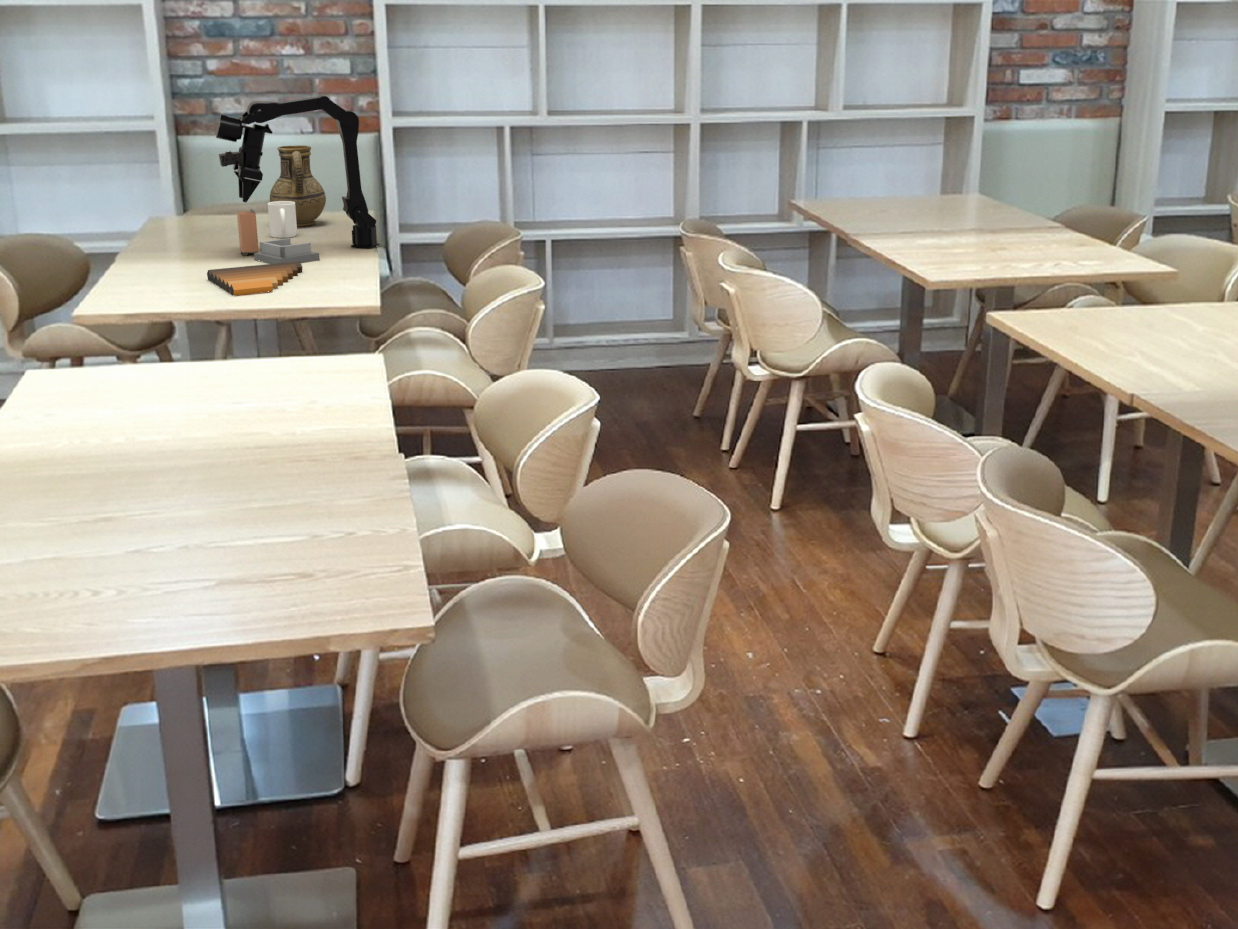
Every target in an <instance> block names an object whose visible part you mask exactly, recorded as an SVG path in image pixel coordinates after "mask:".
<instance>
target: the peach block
mask: <svg viewBox="0 0 1238 929" xmlns="http://www.w3.org/2000/svg"><path fill="white" fill-rule="evenodd" d="M236 215H237V216H236V217H237V229H238V230H237V231H238V239H239V240H238V241H239V250H240V254H241V253H243V254H242V256H243V257H247V256H246V255H248V256H249V253H252V252H253V253H252V254H253V255H254V253H258V252H260V251H259V249H260V247H259V240H258V236H259V235H258V225H257V213H256V212H255V209H253V208H250V210H243V211H236Z"/></svg>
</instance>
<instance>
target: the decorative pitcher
mask: <svg viewBox="0 0 1238 929" xmlns="http://www.w3.org/2000/svg"><path fill="white" fill-rule="evenodd" d="M276 149H277V151H278V157H280V158H279V160H280V175H279V176H278V178H277V179H276V180H275V182H274V184H273V185H272V187H271V189H270V193H269V202H275V201H292V202H295V209H296V223H297V227H309V226H310V227H311V226H314V225H315V224H316V221H315V220H317V219H318V217H320V216H321V214H322V212H323V211H324V209H325V207H326V203H327V198H326V197H327V196H326V192H325V190H324V188H323V186H322V184H321V183H320V182H319V181H318V180H317V179H316V177H315V176H313V174H312V171H311V159H310V156H311V155H312V153H311V150H312V146H310V145H306V144H305V145H300V144H299V145H282V146H278V147H277V148H276Z"/></svg>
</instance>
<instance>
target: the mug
mask: <svg viewBox="0 0 1238 929" xmlns="http://www.w3.org/2000/svg"><path fill="white" fill-rule="evenodd" d="M267 211H268V213H267V214H268V224H269V226H268V228H269V233H270V234H269V235H270V237H271V238H275V239H287V238H289V239H291V238H295V237H297V235H298V226H297V223H296V209H295V202H292V201H275V202H270V201H269V202H267Z"/></svg>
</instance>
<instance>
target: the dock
mask: <svg viewBox="0 0 1238 929" xmlns="http://www.w3.org/2000/svg"><path fill="white" fill-rule="evenodd" d="M259 249H260V251H259V252H258V253H254V254H253V257H254V261H256V260H260V261H259V262H261V261H263V262H262V263H265V262H267V263H266V264H269V263H270V264H275V263H286V262H296V261H300V262H301V264H302V263H308V262H309V263H310V262H314V261H315V262H316V261H320V253H319V252H317V251H312V246H311V242H309V241H308V242H302V243H301V242H300V243H295V244H291V238H279V239H273V240H267V241H260V242H259Z"/></svg>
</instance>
